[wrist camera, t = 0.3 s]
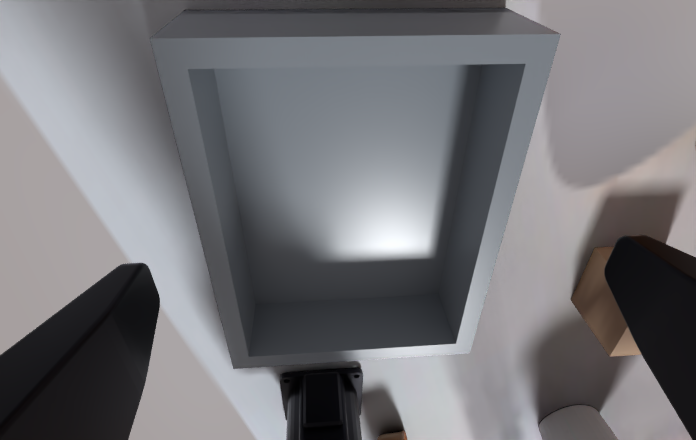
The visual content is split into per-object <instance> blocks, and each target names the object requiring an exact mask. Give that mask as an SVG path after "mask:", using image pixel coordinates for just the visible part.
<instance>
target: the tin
mask: <svg viewBox="0 0 696 440" xmlns="http://www.w3.org/2000/svg"><path fill="white" fill-rule="evenodd" d="M377 440H407V437H406V433H405V431H402V432H397V433H388V434H382V435H380V436H379V437H378V439H377Z"/></svg>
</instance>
